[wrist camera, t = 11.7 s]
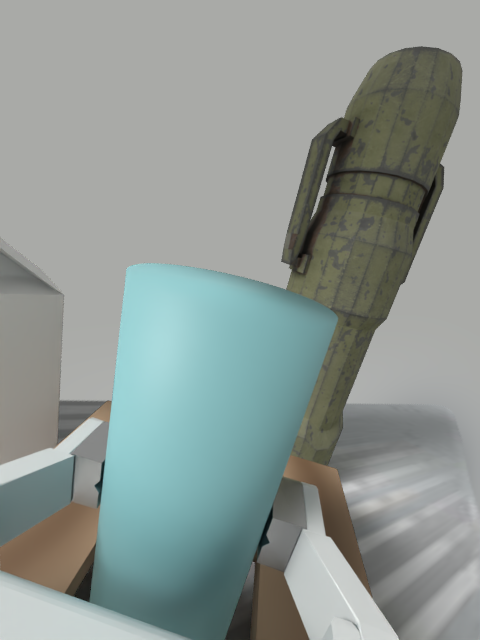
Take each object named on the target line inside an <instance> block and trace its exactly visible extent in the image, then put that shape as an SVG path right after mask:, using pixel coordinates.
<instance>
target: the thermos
mask: <svg viewBox="0 0 480 640" xmlns="http://www.w3.org/2000/svg"><path fill="white" fill-rule="evenodd" d="M461 83H462V68H461V64H460V61H459V60H458V59H457V58H456V57H455V56H453V55H452V54H451V53H449V52H446V51H444V50H441V49H439V48H430V47H413V48H405V49H401V50H398V51H395V52H393V53H389V54H388V55H386V56H385V57H383V58H381V59H380V60H378V61H377V62H376V63H375V64H374V65H373V66H372V68H371V69H370V70H369V72H368V73H367V75H366V77H365V78H364V80H363V82H362V83H361V85H360V87H359V88H358V90H357V92H356V93H355V95H354V97H353V98H352V100H351V102H350V104H349V106H348V108H347V110H346V113H345V117H344V118H339V119H337V120H335V121H334V122H332V123H330V124H328V125H327V126H326V127H325V128H324V129H323V130H322V131H321V132H320V133H319V134H318V135H317V136H316V137H314V139H312V142H311V146H310V149H309V153H308V157H307V160H306V164H305V168H304V171H303V175H302V179H301V183H300V186H299V190H298V194H297V197H296V201H295V205H294V208H293V212H292V216H291V219H290V223H289V227H288V230H287V234H286V239H285V244H284V249H283V255H282V261H281V262H284V263H286V264H289V265H290V267H289V268H290V269H292V272H291V275H290V279H289V282H288V286H287V289H286V290H288V291H291V292H294V293H296V294H299V295H302V296H304V297H307V298H309V299H311V300H314V301H316V302H318V303H320V304H322V305H324V306H325V307H327V308H329V309H330V310H332V311H333V312H334V313H335V314H336V315H337V317H338V322H337V324H336V327H335V330H334V333H333V336H332V339H331V341H330V344H329V347H328V350H327V353H326V355H325V358H324V361H323V364H322V367H321V370H320V372H319V375H318V378H317V381H316V384H315V386H314V389H313V392H312V395H311V398H310V401H309V403H308V406H307V409H306V412H305V415H304V417H303V420H302V423H301V426H300V429H299V431H298V434H297V437H296V440H295V443H294V446H293V448H292V451H291V454H290V455H292V456H295V457H299V458H302V459H305V460H309V461H312V462H315V463H319V464H322V465H326V466H327V465H328V463H329V460H330V458H331V456H332V453H333V451H334V448H335V446H336V443H337V441H338V438H339V436H340V434H341V431H342V428H343V409H344V406H345V404H346V401H347V399H348V396H349V394H350V391H351V389H352V387H353V384H354V381H355V379H356V377H357V374H358V372H359V369H360V367H361V364H362V362H363V359H364V357H365V354H366V352H367V349H368V347H369V344H370V341H371V339H372V336H373V334H374V332H375V329H377V328H378V326H380V325H381V324H382V323H383V322H384V321H385V320H386V319H387V316H388V314H389V312H390V309H391V307H392V304H393V302H394V299H395V297H396V294H397V292H398V290H399V287H400V285H401V284H403V283H404V282H405V280H406V277H407V275H408V272H409V270H410V267H411V265H412V262H413V260H414V257H415V255H416V253H417V250H418V248H419V245H420V243H421V241H422V238H423V236H424V233H425V231H426V229H427V226H428V224H429V221H430V219H431V216H432V214H433V212H434V209H435V207H436V204H437V202H438V200H439V197H440V195H441V192H442V190H443V185H444V167H443V166H442V165H441V164H440V162H441V159H442V157H443V154H444V152H445V149H446V147H447V144H448V142H449V139H450V137H451V134H452V132H453V129H454V127H455V124H456V122H457V119H458V116H459V110H460V101H461ZM332 146H334V147H335V151H334V154H333V157H332V161H331V164H330V168H329V171H328V174H327V178H326V182H327V186H326V190H325V193H324V196H322V197H321V198H320V201H319V205H318V208H317V211H316V213H315V214H314V216H313V217H312V219H311V216H312V213H313V209H314V206H315V202H316V199H317V195H318V192H319V189H320V185H321V181H322V178H323V175H324V171H325V168H326V165H327V161H328V157H329V154H330V151H331V147H332ZM310 219H311V220H310Z"/></svg>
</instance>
